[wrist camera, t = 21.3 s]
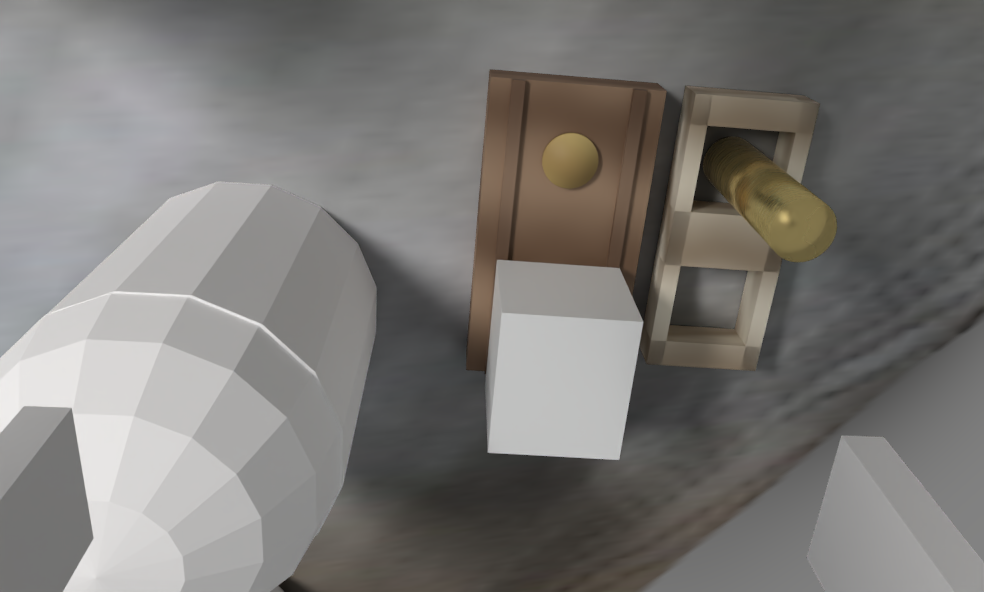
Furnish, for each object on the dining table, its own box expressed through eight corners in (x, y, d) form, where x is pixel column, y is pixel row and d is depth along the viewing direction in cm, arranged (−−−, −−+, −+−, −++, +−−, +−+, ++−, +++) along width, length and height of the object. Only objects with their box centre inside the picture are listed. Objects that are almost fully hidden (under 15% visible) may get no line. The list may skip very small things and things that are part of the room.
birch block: (685, 85, 40) (695, 93, 38) (803, 95, 40) (820, 103, 38) (639, 346, 46) (646, 364, 44) (743, 352, 46) (755, 370, 44)
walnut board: (489, 69, 39) (491, 77, 37) (657, 83, 40) (668, 92, 38) (466, 351, 45) (466, 372, 43) (612, 361, 46) (619, 382, 44)
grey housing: (496, 259, 41) (501, 312, 35) (619, 268, 41) (643, 321, 35) (485, 385, 43) (487, 452, 38) (599, 392, 44) (619, 459, 38)
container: (290, 454, 48) (182, 783, 30) (72, 327, 44) (-203, 613, 26) (429, 280, 44) (403, 539, 26) (202, 125, 40) (-18, 297, 22)
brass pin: (707, 134, 41) (777, 196, 32) (760, 138, 41) (844, 200, 32) (698, 186, 42) (763, 260, 33) (749, 189, 42) (828, 263, 33)
